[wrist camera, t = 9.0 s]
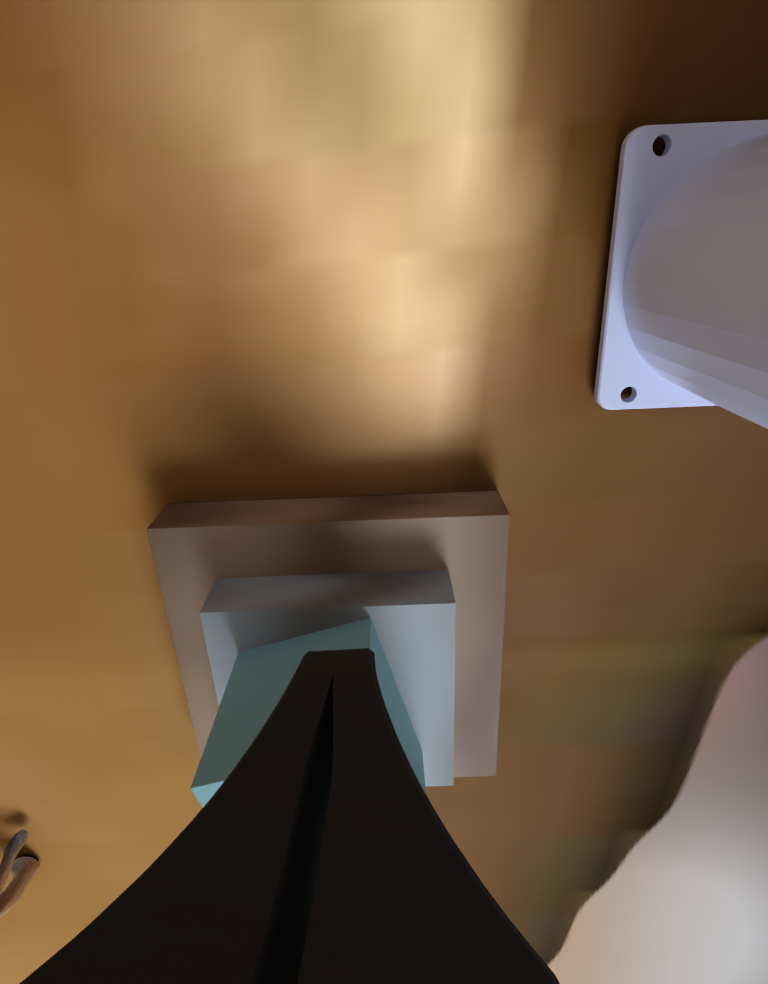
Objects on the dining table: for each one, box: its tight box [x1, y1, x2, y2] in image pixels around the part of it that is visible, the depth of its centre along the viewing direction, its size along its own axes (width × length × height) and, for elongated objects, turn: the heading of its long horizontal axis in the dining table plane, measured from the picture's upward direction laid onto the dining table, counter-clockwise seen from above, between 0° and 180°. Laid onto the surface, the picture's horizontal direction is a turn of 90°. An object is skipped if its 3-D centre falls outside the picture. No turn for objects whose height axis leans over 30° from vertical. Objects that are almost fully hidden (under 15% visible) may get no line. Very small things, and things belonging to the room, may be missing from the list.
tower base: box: [147, 491, 510, 786], centre depth 21 cm, size 12×12×4 cm
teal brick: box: [191, 618, 426, 807], centre depth 17 cm, size 4×6×5 cm
